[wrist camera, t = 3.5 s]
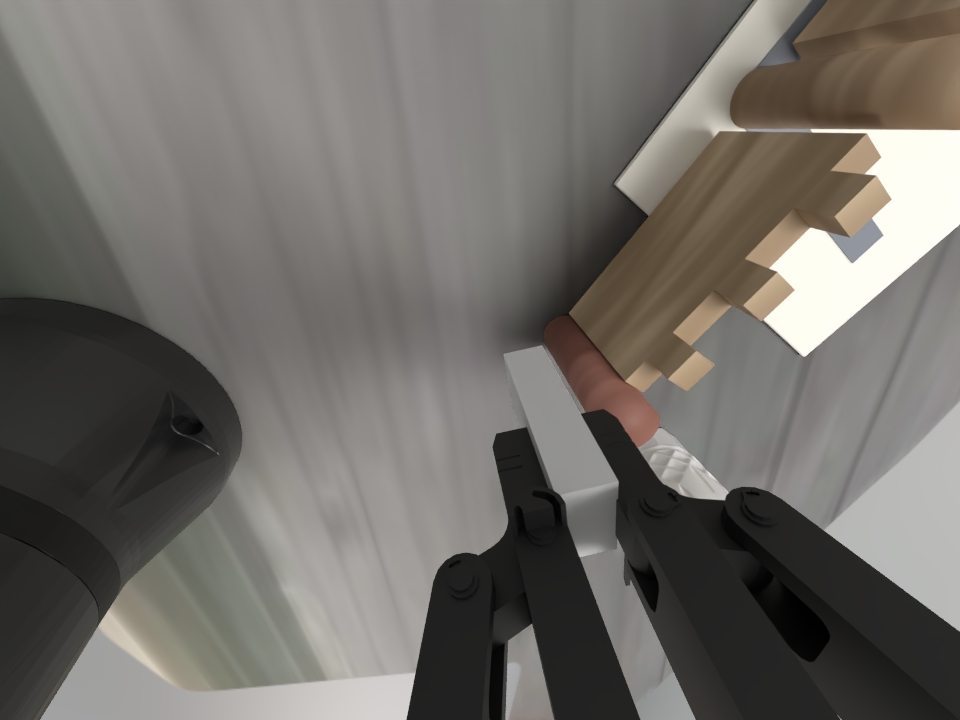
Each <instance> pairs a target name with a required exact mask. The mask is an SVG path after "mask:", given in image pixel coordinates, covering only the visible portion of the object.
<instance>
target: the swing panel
mask: <svg viewBox="0 0 960 720" xmlns="http://www.w3.org/2000/svg"><path fill="white" fill-rule="evenodd" d="M880 158H881V156H880V154H879V153H878V151H877V149H876V148H875V146H874V144H873V143H872V141H871V139H870V138H869V136H868V134H867V133H814V132H750V131H719V132H718V134H717V135H716V136H715V137H714V138H713V140H712V141H711V142H710V143H709V144H708V146H707V147H706V148H705V149H704V150H703V152H702V153H701V154H700V155H699V156H698V158H697V159H696V160H695V161H694V162H693V164H692V165H691V166H690V167H689V169H688V170H687V171H686V172H685V173H684V175H683V176H682V177H681V178H680V179H679V181H678V182H677V183H676V184H675V185H674V187H673V188H672V189H671V190H670V191H669V193H668V194H667V195H666V196H665V197H664V199H663V200H662V201H661V202H660V204H659V205H658V206H657V207H656V208H655V210H654V211H653V212H652V213H651V214H650V216H649V217H648V218H647V219H646V220H645V222H644V223H643V224H642V225H641V226H640V228H639V229H638V230H637V231H636V232H635V234H634V235H633V236H632V237H631V239H630V240H629V241H628V242H627V243H626V245H625V246H624V247H623V248H622V249H621V251H620V252H619V253H618V254H617V255H616V257H615V258H614V259H613V260H612V261H611V263H610V264H609V265H608V266H607V267H606V269H605V270H604V271H603V272H602V274H601V275H600V276H599V277H598V278H597V280H596V281H595V282H594V283H593V284H592V286H591V287H590V288H589V289H588V290H587V292H586V293H585V294H584V295H583V296H582V298H581V299H580V300H579V301H578V302H577V304H576V305H575V306H574V307H573V309H572V310H571V311H570V312H569V314H570V315H571V316H570V315H563V316H559V317H557V318H555V319H553V320H552V321H551V322H550V323H549V324H548V325H547V326H546V328H545V330H544V334H543V339H544V343H545V345H546V346H547V348H548V350H549V351H550V353H551V355H552V356H553V358H554V360H555V361H556V363H557V365H558V366H559V368H560V370H561V371H562V373H563V375H564V376H565V378H566V380H567V381H568V383H569V385H570V386H571V388H572V390H573V391H574V393H575V395H576V396H577V398H578V400H579V401H580V403H581V405H582V406H583V408H584V410H585V411H586V413H587V412H591V411H595V410H600V409H605V410H606V411H608V412H609V413H611V414H612V415H614V416H615V417H617V418H618V420H619V421H620V423H621V424H622V426H623V427H624V429H625V431H626V432H627V433H628V435H629V436H630V437H631V439H632V442H634V443H635V445H636V446H637V448H638V447H640V446H642V445H643V444H645V443H646V442H648V441H649V440H650V439H651V438H652V437H653V436H654V434H655V433H656V431H657V429H658V427H659V423H660V419H659V416H658V414H657V412H656V411H655V410H654V409H653V407H652V406H651V405H650V404H649V403H648V401H647V400H646V399H645V398H644V397H643V396H642V394H641V393H640V392H639V391H638V390H640V391H641V392H644V391H645V390H646V389H647V388H648V387H649V386H650V385H651V384H652V383H653V382H654V381H655V380H657V379H658V378H659V377H660V376H661V375H662V374H663V375H664V376H665V377H666V378H667V379H669V380H670V381H672V382H673V383H675V384H676V385H678V386H679V387H681V388H682V389H684V390H685V391H688V390H689V389H690V388H691V387H692V386H693V385H694V384H695V383H696V382H697V381H698V380H699V379H701V378H702V377H703V376H704V375H705V374H706V373H707V372H708V371H709V370H710V369H711V368H712V367H713V366H714V364H713V363H712V362H711V361H709V360H708V359H707V358H705V357H704V356H703V355H702V354H700V353H699V352H698V351H697V350H695V349H694V348H693V347H692V346H691V345H692V344H693V343H694V342H695V341H696V340H697V339H698V338H699V337H700V336H701V335H702V334H703V333H704V332H705V331H706V330H707V329H708V328H709V327H710V326H711V325H712V324H713V323H714V322H715V321H716V320H717V319H718V318H719V317H720V316H721V315H722V314H723V313H724V312H725V311H726V310H727V309H728V308H729V307H730V306H731V305H732V306H734V307H736V308H738V309H740V310H741V311H743V312H745V313H747V314H748V315H750V316H752V317H754V318H756V319H757V320H759V321H762V320H764V319H765V318H766V317H767V316H768V315H769V314H770V313H771V312H772V311H773V310H774V309H775V308H776V307H777V306H779V305H780V304H781V303H782V302H783V301H784V300H785V299H786V298H787V297H788V296H789V295H790V294H791V293H792V292H793V291H795V290H794V289H793V288H792V286H791V285H790V284H789V283H788V282H787V281H786V280H785V279H784V278H783V277H782V276H781V275H780V274H779V273H778V272H776V271H774V270H771V269H769V268H770V267H771V266H772V265H773V264H774V263H775V262H776V261H777V260H778V259H779V258H780V257H781V256H782V255H783V254H784V253H785V252H786V251H787V250H788V249H789V248H790V247H791V246H792V245H793V244H794V243H795V242H796V241H797V240H798V239H799V238H800V237H801V236H802V235H803V234H804V233H805V232H806V231H807V230H808V229H809V228H814V229H818V230H822V231H826V232H830V233H834V234H837V235H841V236H845V237H849V238H851V237H852V236H853V235H854V234H855V233H856V232H858V231H859V230H860V229H861V228H862V227H863V226H864V225H865V224H866V223H867V222H868V221H869V220H870V219H871V218H872V217H874V216H875V215H876V214H877V213H878V212H879V211H880V210H881V209H882V208H883V207H884V206H885V205H886V204H887V203H889V202H890V201H891V200H892V199H891V198H890V196H889V194H888V193H887V191H886V190H885V188H884V186H883V185H882V183H881V182H880V180H879V179H878V177H877V176H876V175H867V174H865V173H866V172H867V171H868V170H869V169H870V168H871V167H872V166H873V165H874V164H875V163H876V162H877V161H878V160H879V159H880ZM637 389H638V390H637Z"/></svg>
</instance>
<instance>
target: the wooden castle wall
mask: <svg viewBox="0 0 960 720" xmlns="http://www.w3.org/2000/svg"><path fill="white" fill-rule="evenodd" d="M792 45H793V46H794V48H795V49H796V51H797V52H798V54H799V56H800V57H801V59H802V60H801V61H795V62H789V63H783V64H777V65H771V66H765V67H760V68H758V69H754V70H752V71H751V72H749V73H748V74H747V75H746V76H745V77H744V78H743V79H742V80H741V81H740V82H739V84H738V85H737V87H736V89H735V91H734V93H733V95H732V99H731V103H730V116H731V119H732V121H733V123H734V124H735V125H736V126H738V127H740V128H743V129H868V130H960V0H828V1H827V2H826V3H825V4H824V6H823V7H822V8H821V9H820V10H819V12H818V13H817V14H816V15H815V16H814V18H813V19H812V20H811V21H810V22H809V24H808V25H807V26H806V27H805V28H804V30H803V31H802V32H801V33H800V35H799V36H798V37H797V38H796V39H795V41H794V42H793V43H792Z"/></svg>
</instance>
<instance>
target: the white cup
mask: <svg viewBox="0 0 960 720" xmlns="http://www.w3.org/2000/svg"><path fill="white" fill-rule="evenodd" d="M638 449H639V451H640V452H641V454H642V455H643V457H644V458H645V460H646V461H647V462H648V464H649V465H650V467H651V468H652V470H653V471H654V473H655V474H656V476H657V477H658V479H659V480H660V481H661V482H662V483H663V484H664V485H667V486H669V487H670V488H672V489H674V490H676V491H677V492H678V493H679V494H680V495H683V496H686V497H691V498H698V499H713V500H725V498H726V495H727V494H728V493H729V492H728V491H727V490H726V489H725V488H724V487H723V486H722V485H721V484H720V483H719V482H718V481H717V480H716V479H715V478H714V477H713V476H712V475H711V474H710V473H709V472H708V471H707V470H706V469H705V468H704V467H703V466H702V464H701V463H700V462H699V461H698V460H697V459H696V458H695V457H693V456H692V455H691V454H689V453H688V452H687V450H686V449H685V448H684V447H683V446H682V445H681V444H680V443H679V442H678V441H677V439H676V438H675V437H674V436H672V435H671V434H670V433H668V432H667V431H665V430H664V429H662V428H658V429H657V431H656V433H655V434H654V436H653V437H652V438H651V439H650V440H649V441H648V442H646V443H645V444H643V445H642V446H640V447H638Z"/></svg>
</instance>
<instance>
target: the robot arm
mask: <svg viewBox="0 0 960 720" xmlns="http://www.w3.org/2000/svg"><path fill="white" fill-rule="evenodd" d="M504 360H505V366H506V372H507V378H508V384H509V390H510V396H511V402H512V408H513V412H514V415H515V418H516V421H517V424H518V427H519V429H516V430H511V431H507V432H502V433H498V434H496V437H495V440H494V444H493V451H494V456H495V460H496V465H497V469H498V474H499V479H500V483H501V487H502V492H503V496H504V501H505V505H506V510H507V514H508V526H507V530H506V532H505V534H504V536H503V537H502V538H501V540H500V541H499V542H498V543H497V544H495V545H494V546H493V547H492V548H490V549H488V550H487V551H485V552H483V553H482V554H480V555H479V556H478V555H476V554H471V553H461V554H456V555H454V556H452V557H451V558H449V559H447V560H446V561H445V562H444V563H443V564H442V566H441V567H440V568H439V569H438V571H437V574H436V576H435V579H434V582H433V587H432V592H431V597H430V602H429V608H428V613H427V618H426V623H425V628H424V633H423V638H422V643H421V649H420V654H419V659H418V664H417V669H416V674H415V679H414V685H413V690H412V695H411V700H410V705H409V710H408V715H407V720H505V711H506V709H505V708H506V682H507V653H508V640H509V639H511V638H512V637H514V636H515V635H516V634H518V633H519V632H521V631H522V630H523V629H525V628H526V627H528V626H529V625H530V624H532V625H533V629H534V633H535V638H536V642H537V646H538V651H539V655H540V660H541V664H542V668H543V673H544V677H545V681H546V686H547V690H548V695H549V699H550V703H551V708H552V712H553V716H554V720H640V718H639V715H638V712H637V710H636V707H635V704H634V702H633V699H632V696H631V694H630V691H629V688H628V685H627V683H626V680H625V677H624V675H623V672H622V669H621V667H620V664H619V661H618V659H617V656H616V653H615V651H614V648H613V645H612V643H611V640H610V637H609V635H608V632H607V629H606V627H605V624H604V621H603V619H602V616H601V613H600V611H599V608H598V605H597V603H596V600H595V597H594V595H593V592H592V589H591V587H590V584H589V581H588V579H587V576H586V573H585V571H584V568H583V565H582V563H581V560H580V557H582V556H586V555H591V554H595V553H599V552H604V551H608V550H612V549H616V548H617V538H618V540H619V543H620V545H621V547H622V549H623V551H624V553H625V559H624V580H625V585H626V586H628V585H630V579H631V581H632V583H633V585H634V587H635V589H636V591H637V594H638V596H639V598H640V600H641V602H642V604H643V607H644V609H645V611H646V613H647V615H648V617H649V619H650V622H651V624H652V626H653V628H654V630H655V632H656V635H657V637H658V639H659V641H660V643H661V645H662V647H663V650H664V652H665V654H666V656H667V658H668V660H669V663H670V665H671V667H672V669H673V671H674V673H675V675H676V678H677V680H678V682H679V684H680V686H681V688H682V690H683V693H684V695H685V697H686V699H687V701H688V704H689V706H690V708H691V710H692V712H693V714H694V716H695V719H696V720H840V718H841V719H842V720H960V632H959V631H958V630H956V629H955V628H954V627H952V626H951V625H950V624H948V623H947V622H946V621H944V620H943V619H942V618H940V617H939V616H938V615H936V614H935V613H934V612H932V611H931V610H930V609H928V608H927V607H926V606H924V605H923V604H922V603H920V602H919V601H918V600H916V599H915V598H913V597H912V596H911V595H909V594H908V593H907V592H905V591H904V590H903V589H901V588H900V587H899V586H897V585H896V584H895V583H893V582H892V581H890V580H889V579H888V578H887V577H885V576H884V575H883V574H881V573H880V572H879V571H877V570H876V569H875V568H873V567H872V566H871V565H869V564H868V563H866V562H865V561H864V560H862V559H861V558H860V557H858V556H857V555H856V554H854V553H853V552H852V551H850V550H849V549H848V548H846V547H845V546H843V545H842V544H841V543H839V542H838V541H837V540H835V539H834V538H833V537H832V536H830V535H829V534H827V533H826V532H825V531H823V530H822V529H821V528H819V527H818V526H817V525H815V524H814V523H813V522H811V521H810V520H809V519H807V518H806V517H805V516H803V515H802V514H801V513H799V512H798V511H797V510H795V509H794V508H793V507H791V506H790V505H789V504H787V503H786V502H784V501H783V500H782V499H780V498H779V497H777V496H775V495H773V494H772V493H770V492H768V491H765V490H761V489H758V488H755V487H740V488H736V489H733V490H731V491H730V492H729V493H728V494H727V495H726V498H725V500H713V499H698V498H691V497H686V496H683V495H680V494H679V493H678V492H677V491H676V490H674V489H672V488H670V487H669V486H667V485H664V484H663V483H662V482H661V481H660V480H659V479H658V477H657V476H656V474H655V473H654V471H653V470H652V468H651V467H650V465H649V464H648V462H647V461H646V460H645V458H644V457H643V455H642V454H641V452H640V451H639V449H638V448H637V446H636V445H635V443H634V442H632V439H631V437H630V436H629V435H628V433H627V432H626V431H625V429H624V427H623V426H622V424H621V423H620V421H619V420H618V418H617V417H615V416H614V415H612V414H611V413H609V412H608V411H606V410H605V409H600V410H595V411H591V412H587V413H582V414H580V412H579V410H578V408H577V407H576V405H575V403H574V401H573V399H572V398H571V396H570V394H569V392H568V391H567V389H566V387H565V385H564V383H563V382H562V380H561V378H560V376H559V374H558V373H557V371H556V369H555V367H554V366H553V364H552V362H551V360H550V358H549V357H548V355H547V353H546V351H545V350H544V348H543V346H542V345H541V346H537V347H532V348H528V349H523V350H519V351H514V352H510V353H505V354H504ZM241 444H242V432H241V426H240V422H239V418H238V415H237V412H236V410H235V408H234V406H233V404H232V402H231V400H230V398H229V396H228V395H227V394H226V392H225V391H224V389H223V388H222V386H221V385H220V384H219V383H218V381H217V380H216V379H215V378H214V377H213V376H212V375H211V374H210V373H209V372H208V371H207V370H206V369H205V368H204V367H203V366H202V365H201V364H200V363H199V362H198V361H196V360H195V359H194V358H193V357H191V356H190V355H189V354H188V353H186V352H185V351H184V350H182V349H181V348H179V347H178V346H176V345H175V344H173V343H172V342H170V341H168V340H167V339H165V338H163V337H162V336H160V335H158V334H156V333H154V332H153V331H151V330H149V329H146V328H144V327H142V326H140V325H138V324H136V323H133V322H131V321H129V320H126V319H124V318H121V317H118V316H116V315H113V314H110V313H107V312H104V311H100V310H97V309H93V308H90V307H86V306H81V305H77V304H72V303H67V302H60V301H54V300H44V299H29V298H12V299H0V720H40V719H41V717H42V715H43V714H44V712H45V710H46V709H47V707H48V706H49V704H50V703H51V701H52V699H53V698H54V696H55V695H56V693H57V691H58V690H59V688H60V686H61V685H62V683H63V682H64V680H65V679H66V677H67V675H68V674H69V672H70V671H71V669H72V667H73V666H74V664H75V663H76V661H77V659H78V658H79V656H80V655H81V653H82V651H83V650H84V648H85V647H86V645H87V643H88V642H89V640H90V639H91V637H92V635H93V634H94V632H95V630H96V628H97V627H98V625H99V624H100V622H101V620H102V619H103V617H104V616H105V614H106V613H107V611H108V610H109V608H110V606H111V605H112V603H113V602H114V600H115V599H116V597H117V596H118V594H119V593H120V591H121V590H122V588H123V586H124V585H125V584H126V583H127V582H128V580H130V579H131V578H132V577H133V576H134V575H135V574H136V573H137V572H138V571H139V570H140V569H141V568H142V567H144V566H145V565H146V564H147V563H148V562H149V561H150V560H151V559H152V558H153V557H154V556H155V555H157V554H158V553H159V552H160V551H161V550H162V549H163V548H164V547H165V546H166V545H167V544H168V543H170V542H171V541H172V540H173V539H174V538H175V537H176V536H177V535H178V534H179V533H180V532H181V531H183V530H184V529H185V528H186V527H187V526H188V525H189V524H190V523H191V522H192V521H193V520H194V519H195V518H197V517H198V516H199V515H200V514H201V513H202V512H203V511H204V510H205V509H206V508H207V507H208V506H209V505H210V504H211V503H212V502H213V501H214V500H215V498H216V497H217V496H218V494H219V493H220V492H221V490H222V488H223V487H224V485H225V483H226V481H227V479H228V477H229V476H230V474H231V472H232V470H233V468H234V466H235V464H236V462H237V460H238V457H239V454H240V450H241ZM838 716H839V717H840V718H839V717H838Z"/></svg>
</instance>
